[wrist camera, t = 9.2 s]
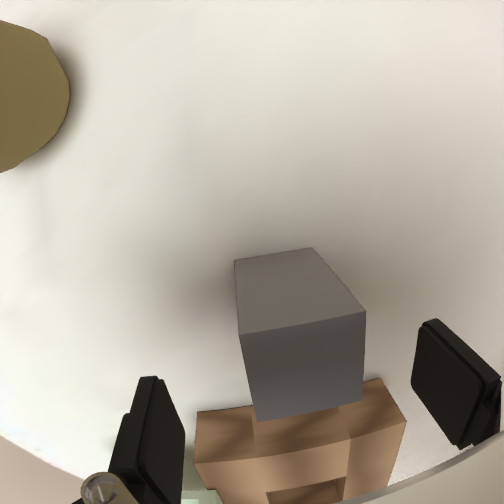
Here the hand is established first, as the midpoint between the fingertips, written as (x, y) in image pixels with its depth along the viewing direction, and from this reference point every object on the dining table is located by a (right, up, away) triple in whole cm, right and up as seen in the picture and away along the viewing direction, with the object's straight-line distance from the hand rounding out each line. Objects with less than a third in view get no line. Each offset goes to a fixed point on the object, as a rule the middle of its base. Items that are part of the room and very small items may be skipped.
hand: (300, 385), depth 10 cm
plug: (0, +2, +9) cm, 9 cm away
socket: (+2, -14, +14) cm, 19 cm away
